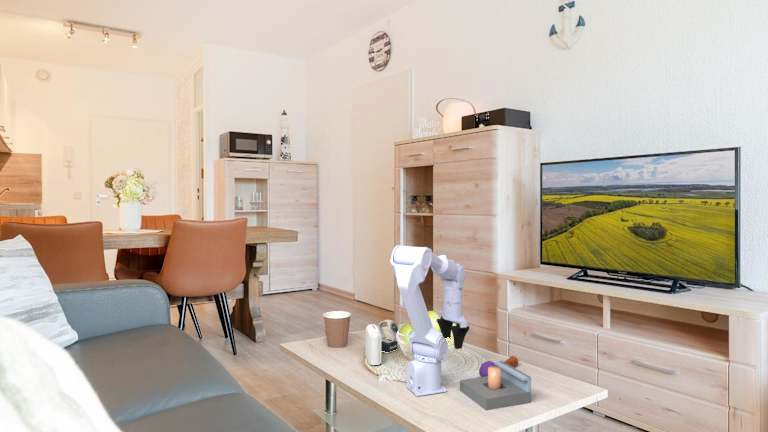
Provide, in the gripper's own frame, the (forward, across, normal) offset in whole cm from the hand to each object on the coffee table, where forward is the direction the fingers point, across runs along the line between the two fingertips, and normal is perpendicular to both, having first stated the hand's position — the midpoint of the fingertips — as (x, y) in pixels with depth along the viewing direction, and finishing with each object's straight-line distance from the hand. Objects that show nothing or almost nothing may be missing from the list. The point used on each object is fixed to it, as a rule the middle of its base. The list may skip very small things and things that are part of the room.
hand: (452, 344), depth 157 cm
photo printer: (+10, +20, +19) cm, 29 cm away
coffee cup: (+10, +40, +26) cm, 49 cm away
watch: (+10, +29, +10) cm, 32 cm away
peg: (+9, -19, -3) cm, 21 cm away
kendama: (+10, -5, -14) cm, 18 cm away
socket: (+9, -19, -3) cm, 21 cm away
